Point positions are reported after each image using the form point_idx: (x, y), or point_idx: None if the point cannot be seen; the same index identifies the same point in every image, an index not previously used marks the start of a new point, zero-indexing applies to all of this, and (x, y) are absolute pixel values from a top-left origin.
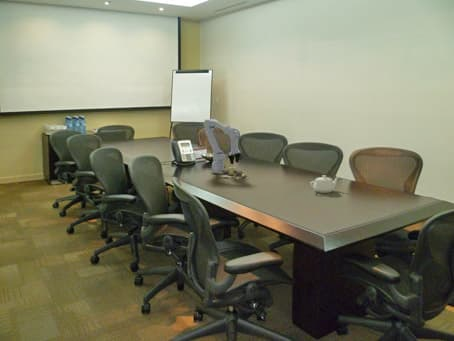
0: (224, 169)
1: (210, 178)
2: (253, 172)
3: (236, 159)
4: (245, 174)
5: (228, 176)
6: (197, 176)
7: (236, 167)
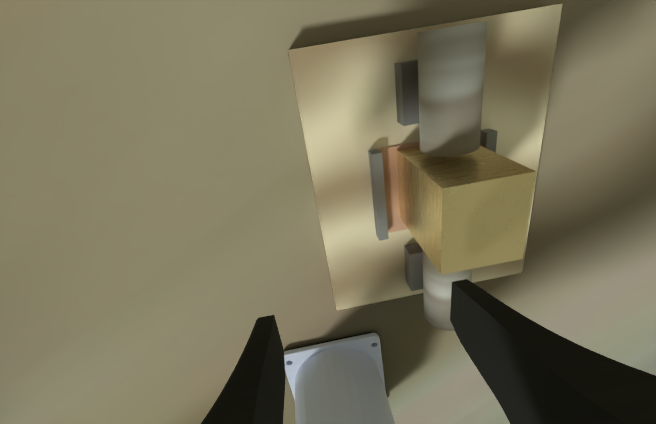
0: None
1: (583, 276)
2: (11, 123)
3: (277, 397)
4: (296, 62)
5: None
6: None
7: (440, 186)
